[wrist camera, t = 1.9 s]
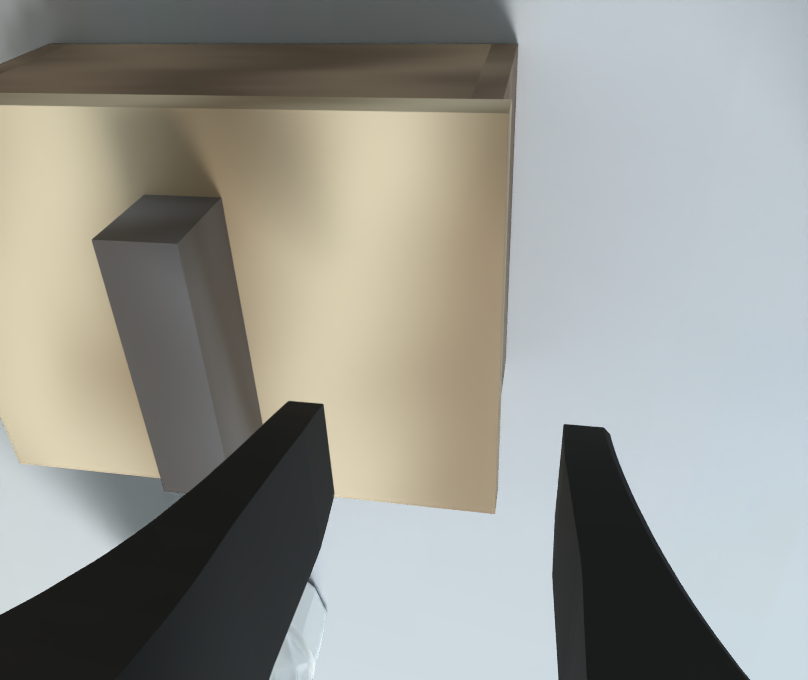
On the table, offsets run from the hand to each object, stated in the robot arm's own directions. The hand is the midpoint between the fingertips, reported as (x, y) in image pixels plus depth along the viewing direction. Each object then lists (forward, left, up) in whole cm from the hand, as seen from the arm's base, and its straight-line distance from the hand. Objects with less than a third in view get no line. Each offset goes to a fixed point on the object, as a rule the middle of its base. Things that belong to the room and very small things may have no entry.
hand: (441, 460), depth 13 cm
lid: (+5, -2, -4) cm, 7 cm away
